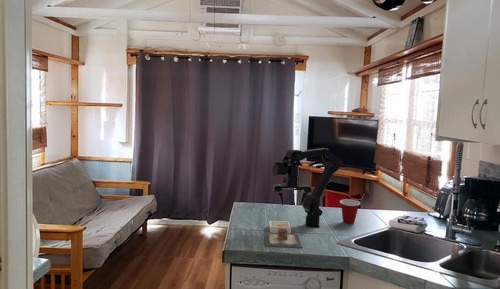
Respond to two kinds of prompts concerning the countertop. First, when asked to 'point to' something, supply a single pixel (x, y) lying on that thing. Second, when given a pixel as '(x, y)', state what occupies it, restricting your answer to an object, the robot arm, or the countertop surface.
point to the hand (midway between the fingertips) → (291, 205)
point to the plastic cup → (349, 210)
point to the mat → (267, 243)
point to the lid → (282, 238)
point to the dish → (275, 225)
